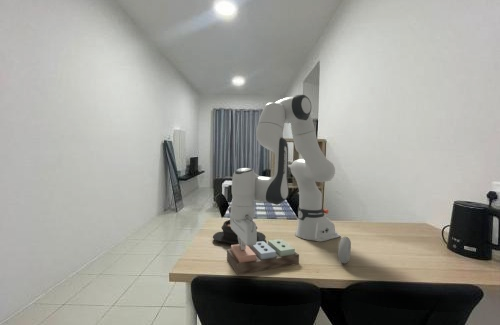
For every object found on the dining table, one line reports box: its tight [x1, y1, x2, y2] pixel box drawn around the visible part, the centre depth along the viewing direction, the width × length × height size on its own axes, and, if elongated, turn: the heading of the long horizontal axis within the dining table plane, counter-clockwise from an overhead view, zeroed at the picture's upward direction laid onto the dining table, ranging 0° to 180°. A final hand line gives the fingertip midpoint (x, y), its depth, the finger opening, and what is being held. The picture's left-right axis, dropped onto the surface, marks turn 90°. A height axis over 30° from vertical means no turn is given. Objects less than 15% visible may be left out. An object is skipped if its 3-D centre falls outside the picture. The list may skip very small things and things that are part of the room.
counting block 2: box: [250, 240, 276, 260], centre depth 93 cm, size 6×11×4 cm, turn 21°
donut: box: [337, 236, 352, 265], centre depth 93 cm, size 10×4×10 cm, turn 148°
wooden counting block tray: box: [226, 246, 300, 275], centre depth 93 cm, size 24×13×4 cm, turn 111°
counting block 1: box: [230, 244, 256, 263], centre depth 90 cm, size 6×11×4 cm, turn 21°
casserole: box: [212, 219, 266, 245], centre depth 114 cm, size 25×19×8 cm
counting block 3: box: [267, 238, 296, 257], centre depth 96 cm, size 6×11×4 cm, turn 21°
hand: (242, 248), depth 90 cm, fingers closed
